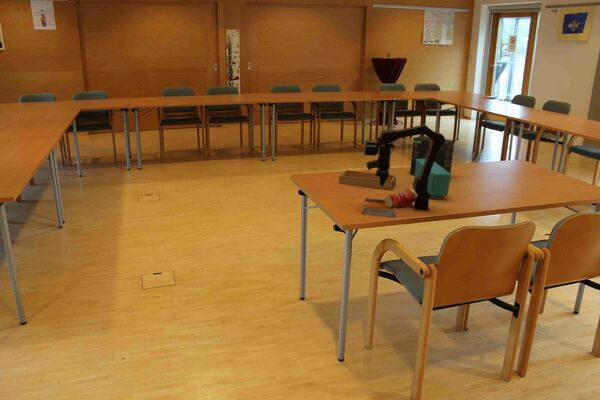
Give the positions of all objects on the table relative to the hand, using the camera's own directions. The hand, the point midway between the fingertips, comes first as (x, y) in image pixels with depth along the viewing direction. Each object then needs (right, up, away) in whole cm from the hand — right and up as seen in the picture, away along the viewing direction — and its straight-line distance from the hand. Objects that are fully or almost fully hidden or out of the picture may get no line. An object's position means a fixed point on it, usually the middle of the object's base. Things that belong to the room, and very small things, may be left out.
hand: (381, 186), depth 261 cm
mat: (-2, -13, -6) cm, 15 cm away
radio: (+33, -2, +33) cm, 47 cm away
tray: (-2, +2, +44) cm, 44 cm away
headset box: (+40, +7, +64) cm, 76 cm away
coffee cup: (+4, -8, +1) cm, 9 cm away
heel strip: (+1, -8, +10) cm, 13 cm away
